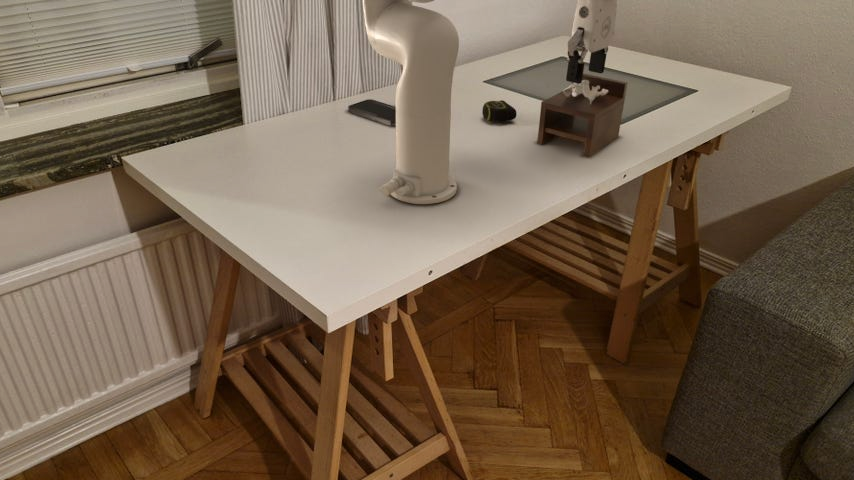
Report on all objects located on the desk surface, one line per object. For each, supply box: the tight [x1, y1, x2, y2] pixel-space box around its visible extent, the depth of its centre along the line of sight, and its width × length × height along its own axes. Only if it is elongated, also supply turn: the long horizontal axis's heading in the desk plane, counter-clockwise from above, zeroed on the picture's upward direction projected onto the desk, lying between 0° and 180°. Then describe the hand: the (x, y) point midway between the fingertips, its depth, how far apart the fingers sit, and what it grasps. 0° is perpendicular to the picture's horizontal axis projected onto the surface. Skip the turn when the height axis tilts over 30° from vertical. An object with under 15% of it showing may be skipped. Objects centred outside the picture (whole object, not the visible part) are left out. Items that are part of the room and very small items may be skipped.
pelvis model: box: [562, 80, 608, 104], centre depth 142 cm, size 8×4×7 cm
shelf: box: [536, 72, 628, 158], centre depth 145 cm, size 14×12×12 cm
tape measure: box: [481, 99, 518, 124], centre depth 157 cm, size 7×7×4 cm
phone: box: [347, 98, 396, 127], centre depth 160 cm, size 8×1×15 cm
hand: (585, 76), depth 141 cm, fingers open, 9 cm apart
